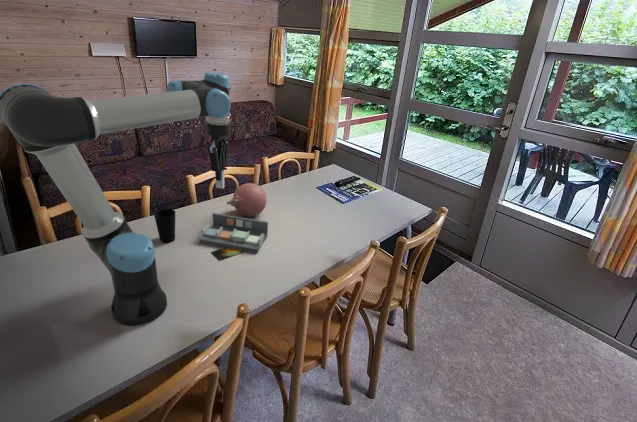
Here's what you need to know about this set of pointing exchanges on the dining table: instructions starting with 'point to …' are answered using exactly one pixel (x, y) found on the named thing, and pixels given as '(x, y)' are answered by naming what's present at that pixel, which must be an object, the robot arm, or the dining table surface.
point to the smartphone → (226, 253)
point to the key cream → (252, 240)
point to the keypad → (232, 225)
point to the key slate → (211, 233)
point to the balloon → (249, 199)
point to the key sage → (239, 236)
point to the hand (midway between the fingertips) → (220, 187)
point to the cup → (165, 224)
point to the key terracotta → (225, 235)
